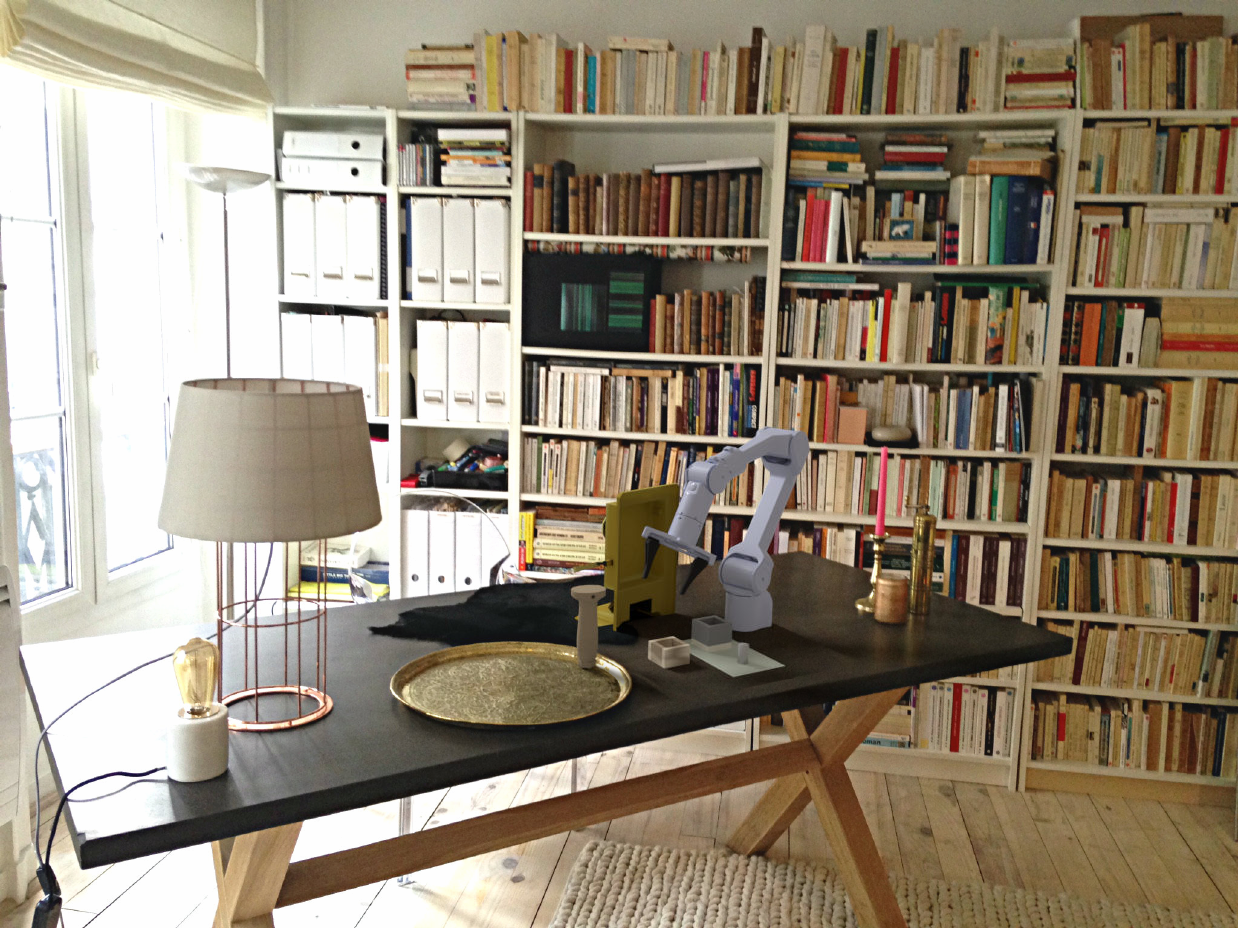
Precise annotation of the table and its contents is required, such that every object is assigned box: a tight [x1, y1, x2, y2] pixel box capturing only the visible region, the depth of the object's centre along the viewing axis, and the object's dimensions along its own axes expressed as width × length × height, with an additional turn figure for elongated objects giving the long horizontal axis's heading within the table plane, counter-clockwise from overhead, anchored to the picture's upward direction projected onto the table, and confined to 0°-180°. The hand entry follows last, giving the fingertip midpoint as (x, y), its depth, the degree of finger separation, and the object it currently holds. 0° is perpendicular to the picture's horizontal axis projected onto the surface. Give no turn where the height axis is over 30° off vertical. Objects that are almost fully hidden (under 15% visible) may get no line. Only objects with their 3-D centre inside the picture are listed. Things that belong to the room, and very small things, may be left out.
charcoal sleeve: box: [690, 614, 733, 653], centre depth 197 cm, size 6×6×5 cm
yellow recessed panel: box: [572, 482, 692, 632], centre depth 214 cm, size 31×14×30 cm, turn 135°
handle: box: [570, 584, 607, 669], centre depth 188 cm, size 5×6×15 cm
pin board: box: [682, 638, 786, 678], centre depth 193 cm, size 12×20×5 cm, turn 31°
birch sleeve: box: [647, 636, 691, 669], centre depth 189 cm, size 6×6×5 cm
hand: (662, 586), depth 190 cm, fingers open, 7 cm apart
